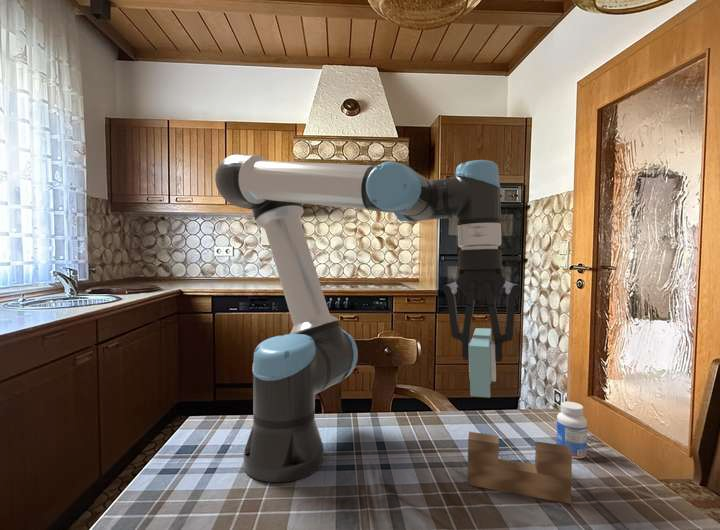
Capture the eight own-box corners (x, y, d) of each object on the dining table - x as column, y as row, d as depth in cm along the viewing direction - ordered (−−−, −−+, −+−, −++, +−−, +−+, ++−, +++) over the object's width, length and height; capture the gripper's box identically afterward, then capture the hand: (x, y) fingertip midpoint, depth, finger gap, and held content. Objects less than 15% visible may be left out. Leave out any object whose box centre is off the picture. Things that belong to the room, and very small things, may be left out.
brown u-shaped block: (467, 484, 67) (468, 438, 67) (468, 475, 70) (469, 431, 69) (571, 504, 62) (571, 454, 61) (567, 493, 64) (568, 445, 64)
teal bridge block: (470, 396, 61) (469, 345, 61) (476, 367, 78) (475, 328, 78) (490, 397, 60) (488, 346, 60) (492, 368, 77) (491, 328, 77)
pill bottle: (555, 443, 82) (556, 398, 82) (584, 449, 80) (585, 402, 79) (557, 455, 77) (558, 407, 77) (588, 461, 75) (589, 411, 74)
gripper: (431, 249, 69) (434, 380, 69) (529, 246, 63) (533, 388, 63) (437, 250, 76) (440, 369, 76) (526, 247, 70) (529, 375, 70)
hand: (482, 378), depth 70 cm, fingers closed on teal bridge block, 3 cm apart
